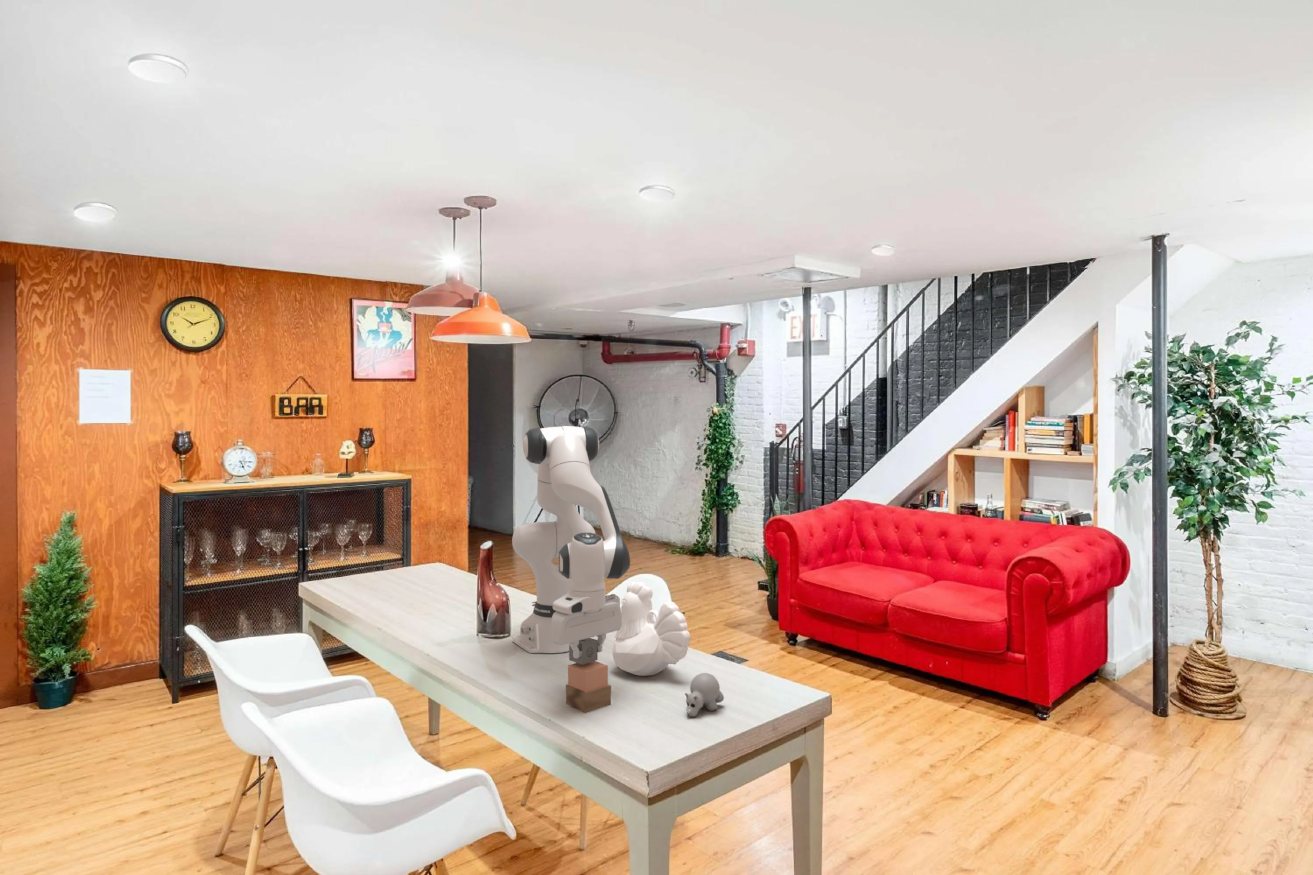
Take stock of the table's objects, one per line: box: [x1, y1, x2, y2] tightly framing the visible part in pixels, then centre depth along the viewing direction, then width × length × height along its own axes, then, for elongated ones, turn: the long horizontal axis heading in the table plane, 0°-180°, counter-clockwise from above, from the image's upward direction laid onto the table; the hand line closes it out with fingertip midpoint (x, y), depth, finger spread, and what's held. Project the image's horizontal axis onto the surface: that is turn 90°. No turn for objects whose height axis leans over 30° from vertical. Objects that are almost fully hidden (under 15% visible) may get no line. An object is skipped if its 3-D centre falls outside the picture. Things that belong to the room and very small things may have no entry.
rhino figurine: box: [684, 672, 725, 718], centre depth 186 cm, size 7×12×8 cm, turn 140°
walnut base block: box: [565, 683, 612, 714], centre depth 190 cm, size 8×8×5 cm
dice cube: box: [568, 637, 599, 665], centre depth 191 cm, size 5×5×5 cm
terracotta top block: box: [567, 660, 609, 692], centre depth 190 cm, size 7×7×5 cm
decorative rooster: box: [612, 581, 691, 677], centre depth 211 cm, size 25×16×25 cm, turn 35°
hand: (587, 654), depth 190 cm, fingers closed on dice cube, 5 cm apart
